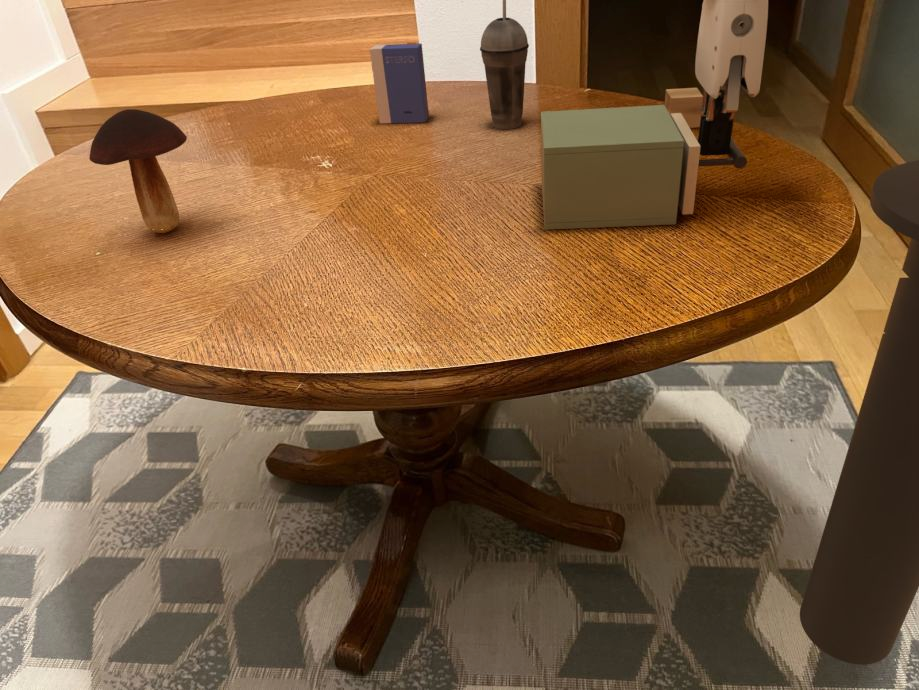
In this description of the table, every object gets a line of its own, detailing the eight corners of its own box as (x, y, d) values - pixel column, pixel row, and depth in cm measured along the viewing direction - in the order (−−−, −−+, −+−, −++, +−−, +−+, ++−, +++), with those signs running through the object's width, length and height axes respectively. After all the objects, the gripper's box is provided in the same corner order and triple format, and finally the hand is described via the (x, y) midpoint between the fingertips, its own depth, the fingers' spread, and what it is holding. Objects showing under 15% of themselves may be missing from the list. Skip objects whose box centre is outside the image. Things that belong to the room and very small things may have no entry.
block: (663, 119, 111) (665, 89, 109) (693, 117, 111) (696, 87, 108) (668, 129, 107) (671, 98, 105) (699, 127, 107) (703, 96, 104)
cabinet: (658, 181, 92) (664, 104, 87) (676, 224, 82) (684, 140, 76) (541, 186, 93) (540, 111, 88) (544, 230, 83) (543, 147, 78)
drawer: (722, 173, 90) (730, 109, 86) (746, 211, 81) (756, 143, 76) (565, 180, 92) (565, 119, 88) (570, 219, 83) (571, 152, 78)
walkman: (429, 117, 121) (421, 40, 114) (425, 122, 119) (417, 45, 112) (383, 118, 123) (373, 42, 116) (379, 123, 120) (368, 46, 114)
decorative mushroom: (106, 253, 87) (57, 128, 79) (141, 214, 96) (101, 99, 88) (195, 248, 86) (156, 121, 78) (222, 209, 95) (190, 92, 87)
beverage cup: (478, 131, 113) (469, -11, 102) (491, 116, 119) (484, -20, 108) (524, 132, 111) (520, -12, 100) (535, 117, 117) (533, -21, 105)
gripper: (799, -17, 66) (764, 176, 77) (755, -39, 79) (730, 129, 89) (714, -12, 67) (691, 179, 77) (683, -35, 79) (667, 132, 90)
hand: (712, 152), depth 83 cm, fingers closed
